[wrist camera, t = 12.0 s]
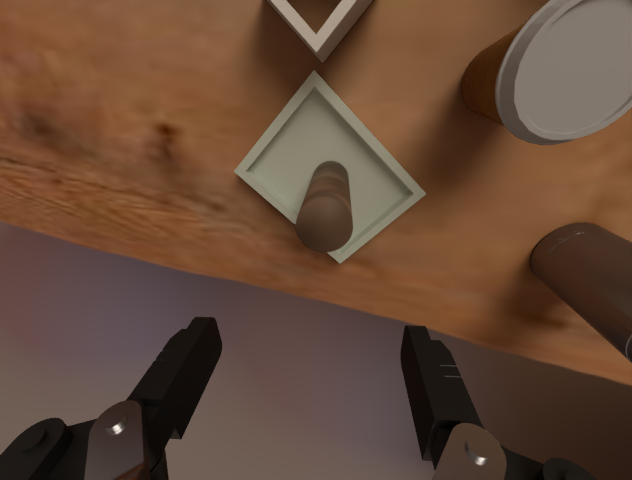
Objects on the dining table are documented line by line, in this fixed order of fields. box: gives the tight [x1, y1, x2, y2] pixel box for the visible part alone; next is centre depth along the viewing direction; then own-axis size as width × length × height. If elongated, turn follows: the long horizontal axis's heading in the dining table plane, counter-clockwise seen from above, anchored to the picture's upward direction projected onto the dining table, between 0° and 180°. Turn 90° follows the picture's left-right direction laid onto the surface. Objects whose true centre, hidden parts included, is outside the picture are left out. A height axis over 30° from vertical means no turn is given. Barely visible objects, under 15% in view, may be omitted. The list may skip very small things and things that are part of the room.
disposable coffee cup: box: [462, 0, 632, 145], centre depth 22 cm, size 10×10×12 cm
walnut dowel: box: [296, 161, 353, 252], centre depth 27 cm, size 4×4×14 cm
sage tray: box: [234, 70, 426, 264], centre depth 33 cm, size 18×14×2 cm
